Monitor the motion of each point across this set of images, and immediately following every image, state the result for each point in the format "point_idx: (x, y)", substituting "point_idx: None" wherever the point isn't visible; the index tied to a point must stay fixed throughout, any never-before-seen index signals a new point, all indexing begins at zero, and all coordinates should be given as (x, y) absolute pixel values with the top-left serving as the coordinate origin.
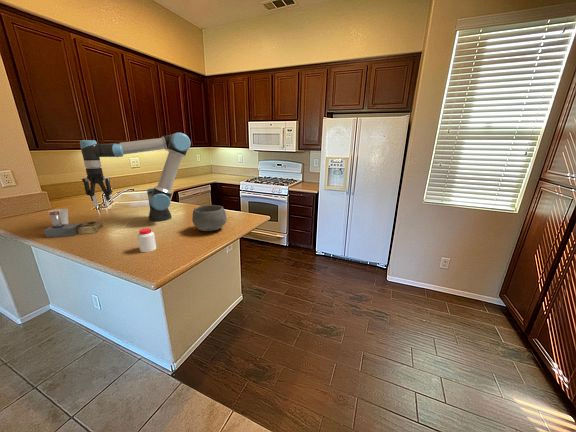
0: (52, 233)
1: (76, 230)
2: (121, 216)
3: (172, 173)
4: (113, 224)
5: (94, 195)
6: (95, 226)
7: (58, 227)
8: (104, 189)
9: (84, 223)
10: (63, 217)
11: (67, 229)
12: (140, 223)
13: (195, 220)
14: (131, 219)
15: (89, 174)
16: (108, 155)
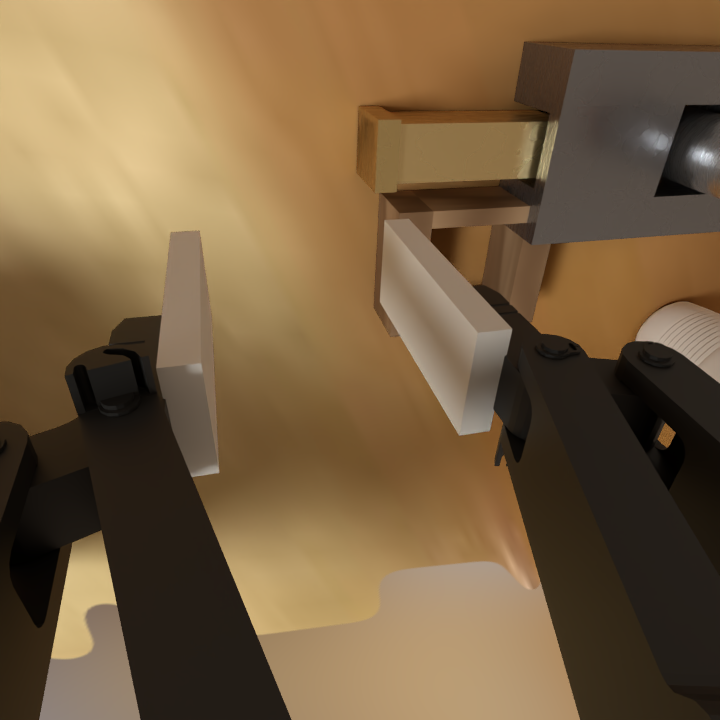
0: (711, 48)
1: (535, 118)
2: (343, 531)
3: None
4: (309, 360)
5: (487, 420)
6: (374, 156)
7: (698, 122)
8: (115, 585)
9: (516, 271)
10: (702, 356)
11: (611, 48)
12: (43, 379)
13: None
14: (219, 477)
15: None
16: None
